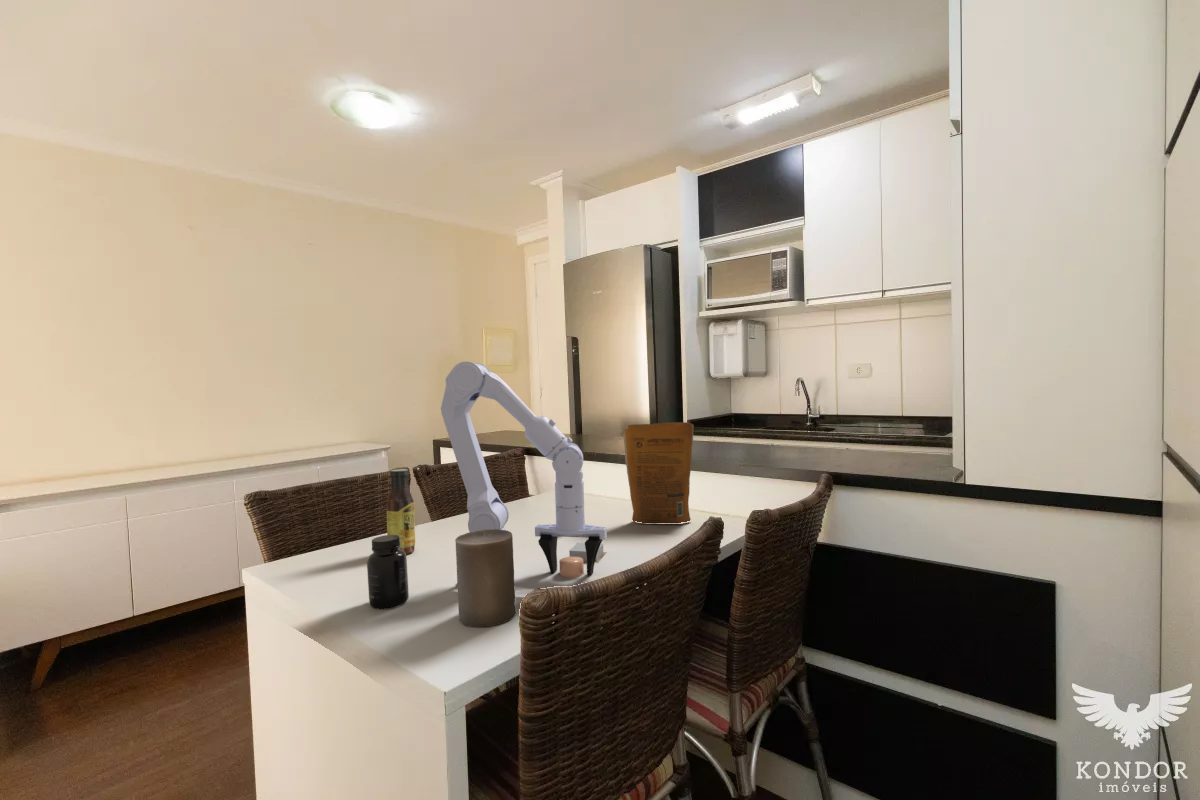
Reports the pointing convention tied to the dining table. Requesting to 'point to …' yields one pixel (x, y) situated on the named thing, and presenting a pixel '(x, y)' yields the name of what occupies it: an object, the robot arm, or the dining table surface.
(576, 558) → the terracotta cylinder
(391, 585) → the supplement bottle
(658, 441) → the pancake mix bag
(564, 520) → the robot arm
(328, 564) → the dining table surface
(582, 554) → the slate top block
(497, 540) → the pillar candle
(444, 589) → the dining table surface
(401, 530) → the sauce bottle
